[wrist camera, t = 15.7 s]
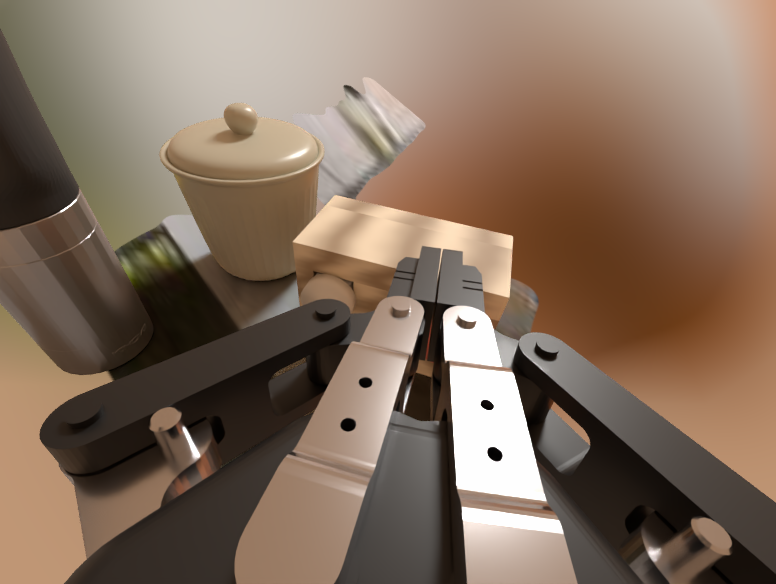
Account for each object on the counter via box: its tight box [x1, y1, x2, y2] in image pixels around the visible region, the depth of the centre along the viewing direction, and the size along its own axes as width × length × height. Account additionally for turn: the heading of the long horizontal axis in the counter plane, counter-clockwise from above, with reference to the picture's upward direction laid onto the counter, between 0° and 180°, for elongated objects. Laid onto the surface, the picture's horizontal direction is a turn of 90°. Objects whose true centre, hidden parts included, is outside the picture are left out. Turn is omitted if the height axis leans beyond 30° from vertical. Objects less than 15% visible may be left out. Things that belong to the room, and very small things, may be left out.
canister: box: [160, 103, 324, 281], centre depth 45 cm, size 18×18×21 cm
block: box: [293, 195, 513, 377], centre depth 39 cm, size 20×10×14 cm, turn 73°
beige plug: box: [300, 272, 356, 313], centre depth 37 cm, size 5×9×5 cm, turn 163°
